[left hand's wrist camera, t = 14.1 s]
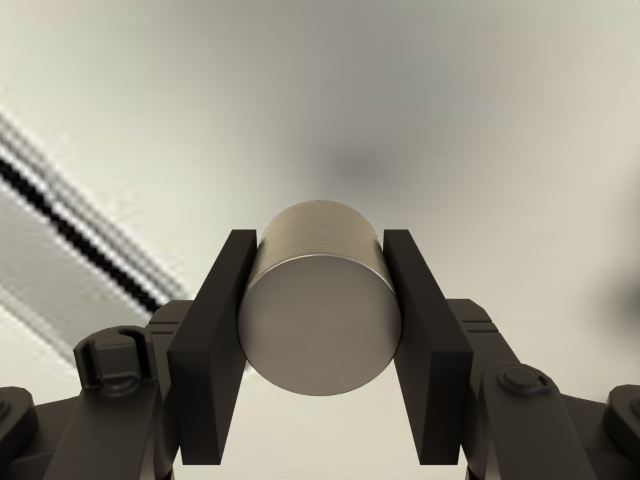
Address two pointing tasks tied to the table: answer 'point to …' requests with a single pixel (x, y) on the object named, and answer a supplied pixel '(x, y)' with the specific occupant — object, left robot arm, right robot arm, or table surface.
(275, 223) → the tin
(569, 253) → the table surface
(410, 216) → the table surface
